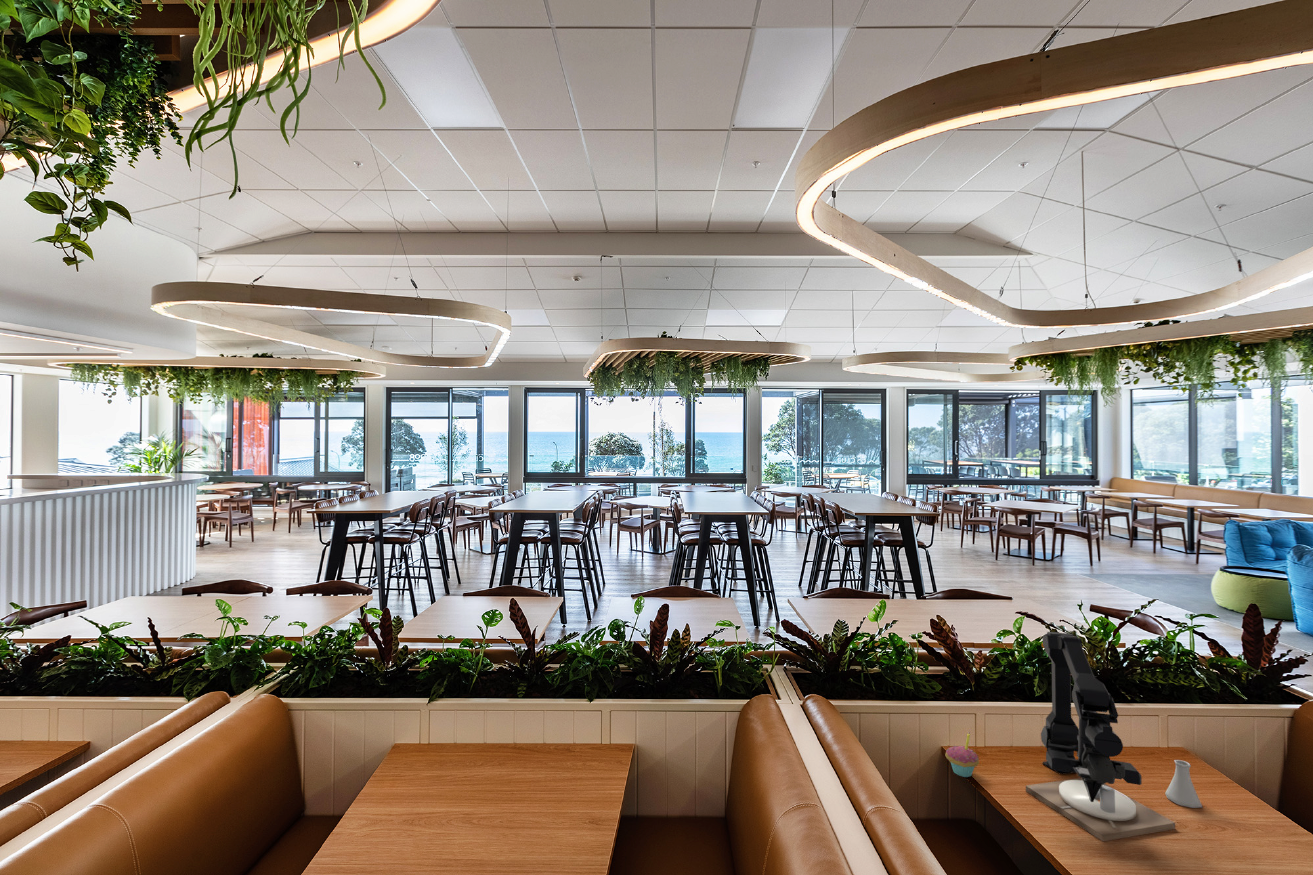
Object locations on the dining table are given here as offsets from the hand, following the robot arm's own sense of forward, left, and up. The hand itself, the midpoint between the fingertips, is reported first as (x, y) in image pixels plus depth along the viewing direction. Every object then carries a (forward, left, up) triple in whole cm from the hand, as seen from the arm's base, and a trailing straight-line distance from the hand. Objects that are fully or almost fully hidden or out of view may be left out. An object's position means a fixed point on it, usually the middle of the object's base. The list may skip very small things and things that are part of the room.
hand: (1091, 801), depth 150 cm
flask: (-2, +32, -5) cm, 32 cm away
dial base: (-4, +6, -5) cm, 8 cm away
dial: (-4, +6, -3) cm, 8 cm away
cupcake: (-27, -15, -5) cm, 31 cm away
